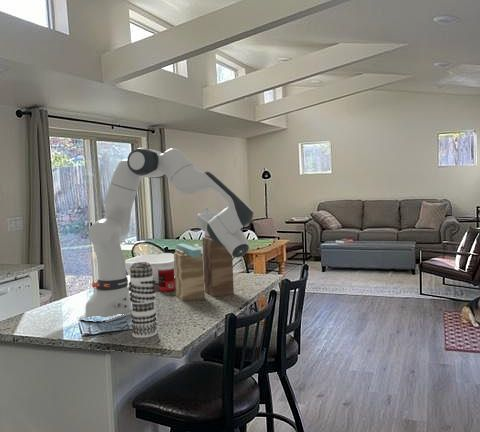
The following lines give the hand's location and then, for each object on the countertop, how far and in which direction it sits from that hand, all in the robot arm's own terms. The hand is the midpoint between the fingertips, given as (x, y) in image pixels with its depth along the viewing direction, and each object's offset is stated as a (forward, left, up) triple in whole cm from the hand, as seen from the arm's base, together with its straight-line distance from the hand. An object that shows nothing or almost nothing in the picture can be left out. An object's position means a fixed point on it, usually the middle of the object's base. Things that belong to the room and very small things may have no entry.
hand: (216, 209), depth 211 cm
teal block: (+9, +19, -20) cm, 30 cm away
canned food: (+19, +37, -41) cm, 59 cm away
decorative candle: (-45, +8, -41) cm, 61 cm away
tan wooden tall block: (+9, +19, -40) cm, 46 cm away
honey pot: (+52, +35, -41) cm, 75 cm away
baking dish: (+37, +55, -41) cm, 78 cm away
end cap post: (+19, +9, -40) cm, 46 cm away
